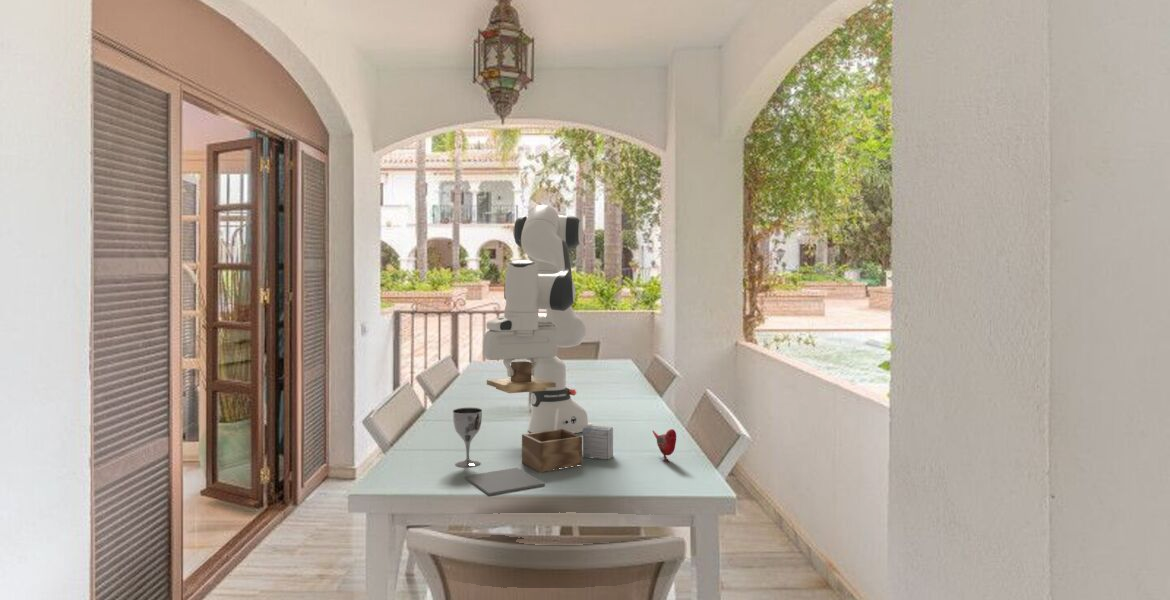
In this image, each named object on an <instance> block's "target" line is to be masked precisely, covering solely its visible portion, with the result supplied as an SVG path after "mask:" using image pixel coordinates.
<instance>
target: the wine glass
mask: <svg viewBox="0 0 1170 600" xmlns="http://www.w3.org/2000/svg"><path fill="white" fill-rule="evenodd" d="M452 421H453V426H454V429H455V430H454V431H455V432H456V433H457V435H458V436H459V438H461V439H462V441H463V442H464V445H465V451H466V452H465V454H466V457H465V460H460V461H457V462H455V463H454V466H455V467H458V468H463V469H464V468H476V467H478V466H480V465H481V464H482V463H481V461H478V460H474V459H473V460H471V459H470V448H471V443H472V441H473V439H474V438H475V437H476V435H477V434H478V433H479V432H480V430H481V425H482V421H483V410H482V408H479V407H460V408H455V409H453V410H452Z"/></svg>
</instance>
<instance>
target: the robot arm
mask: <svg viewBox="0 0 1170 600" xmlns="http://www.w3.org/2000/svg"><path fill="white" fill-rule="evenodd" d="M512 235H513V238H514V241H515V244H516V245H517V246H518V247H519V248H522V250H523V252H524V253H525V254H526V255H527V256H528V257H529V258H530V259H532V260H528V259H518V260H517V259H516V260H511V261H510V262H509V263H508V264H507V268H506V271H505V272H506V273H505V279H504V280H505V281H504V283H503V288H504V289H503V297H504V298H503V299H504V300H505V308H504V315H502V316H499V317H496V318H494V319H491V320H488V321H486V329H487V331H486V332H485V333H484V336H483V342H482V356H483V358H484V359H486V360H487V361H502V360H503V361H502V362H503V363H502V364H503V365H504V367H505V369H506V370H507V373H506V374H507V377H509V378H511V377H515V370H514V369H512V368H511V363H512V362H513V361H512V360H521V359H522V360H523V359H529V362H532V371H531V377H537V378H540V379H544V380H548V381H551V382H555V383H556V387H553V388H546V391H535V392H530V401H531V402H530V403H531V414H530V420H529V424H528V427H527V432H529V433H537V432H544V431H552V430H559V429H564V430H566V431H569V432H571V433H574V434H578V433H583V428H584V427H586V426H588V425H593V426H595V424H594V423H592V422H590V421H589V419H588V414H587V411H586V409H585V408H584V407H583V406H582V405H580V404H579V403H578V402H577V401H575V400H573V398H571V396H576V395H577V390H576V389H574V388H568V387H567V386H566V385H567V372H566V371H567V366H566V364H565V362H564V361H563V360H562V359H560V358H559V357H558V356H557V355H558V352H559V348H571V347H576V346H580V345H581V343H583V341H584V339H585V336H586V325H585V323H584V321H583V319H582V317H580V316H579V315H577V313H576V312H575V310H574V309H573V307H572V306H573V305H574V304H575V303H574V302H575V301H576V300H575V299H576V292H577V291H576V285H575V282H574V280H573V274H572V273H573V272H572V264H571V263H572V262H571V257H570V253H571V252H572V250H574V249H576V248H577V247H578V246H579V245H580V243H581V241H582V238H583V226H582V223H581V220H580V219H579V218H578V217H577V216H575V215H569V214H568V215H563V214H558V212H557V210H556V209H554V208H553V207H552V206H549V205H545V204H541V205H537V206H535V207H534V208H533V209H532V210H530V212H529V213H528V214H527V215H522V216H519V217H518V218H517V219H516V220H515V222H514V225H513V228H512ZM540 310H546V312H540Z"/></svg>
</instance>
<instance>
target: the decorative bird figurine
mask: <svg viewBox="0 0 1170 600" xmlns="http://www.w3.org/2000/svg"><path fill="white" fill-rule="evenodd" d="M652 433H653V435H654V437H655V439H656V444H657V447H658V449H659V451H660V453H661V454H662V455H663V457H662V458H663V459H664V461H666V462H667V461H668V463H670V462H671V461H670V460H669V459H668V457H667V456H671V455H672V454H673V453H674V451H675V449H676V444H677V443H676V442H677V432H676V431H675V429H674V428H672V429H668V430H667V431H666V432H665V433H664V434H660V435H659V434H657V432H656V431H655V430H652Z"/></svg>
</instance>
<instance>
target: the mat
mask: <svg viewBox="0 0 1170 600" xmlns="http://www.w3.org/2000/svg"><path fill="white" fill-rule="evenodd" d="M464 479H466V480H467V481H468V482H470V483H471V484H472V485H474V486H475V487H476V488H477V489H479V490H481V491H482V492H484V493H485V494H486V495H488V496H493V495H499V494H506V493H511V492H517V491H523V490H528V488H529V489H534V488H533V487H535V488H539V487H538V486H540V487H544V485H545V482H543V481H541V480H539V479H538V478H536V477H534V476H532V475H531V474H529V473H528V472H526V471H524V470H522V469H520V468H519V467H512V468H505V469H501V470H500V469H499V470H494V471H486V472H481V473H475V474H467V475H464ZM545 486H546V485H545Z"/></svg>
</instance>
